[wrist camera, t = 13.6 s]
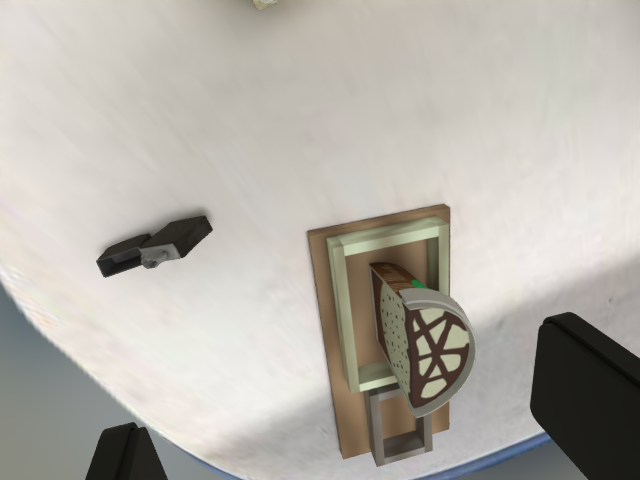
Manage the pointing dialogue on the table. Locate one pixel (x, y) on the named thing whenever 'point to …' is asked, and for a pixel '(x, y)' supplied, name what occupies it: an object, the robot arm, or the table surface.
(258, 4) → the storage basket
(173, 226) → the lighter
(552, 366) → the robot arm
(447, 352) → the food container
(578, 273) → the table surface
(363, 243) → the fitting board
